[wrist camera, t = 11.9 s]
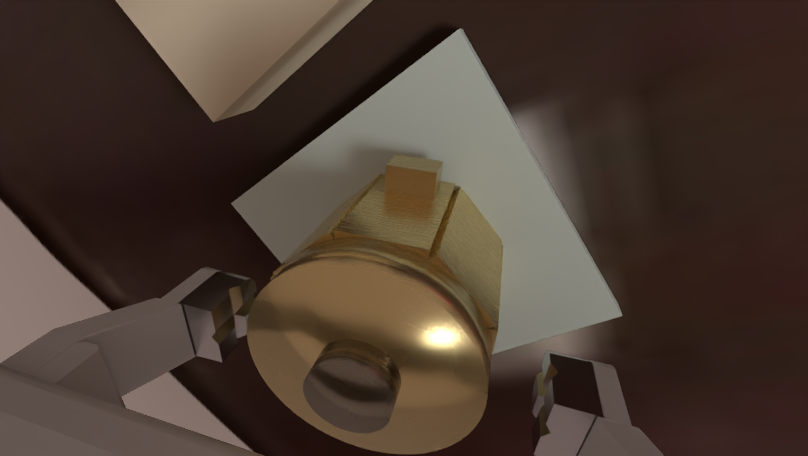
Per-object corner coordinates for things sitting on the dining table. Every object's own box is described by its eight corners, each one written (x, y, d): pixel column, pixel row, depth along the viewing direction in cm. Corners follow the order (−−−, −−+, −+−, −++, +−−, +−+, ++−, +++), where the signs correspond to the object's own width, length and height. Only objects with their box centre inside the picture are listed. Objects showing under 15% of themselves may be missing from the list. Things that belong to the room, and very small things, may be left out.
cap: (521, 167, 11) (526, 295, 6) (477, 352, 14) (456, 531, 9) (333, 138, 12) (194, 224, 7) (336, 316, 16) (246, 459, 10)
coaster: (618, 304, 13) (622, 315, 12) (388, 375, 17) (384, 385, 17) (462, 28, 10) (459, 29, 10) (240, 197, 15) (230, 203, 14)
